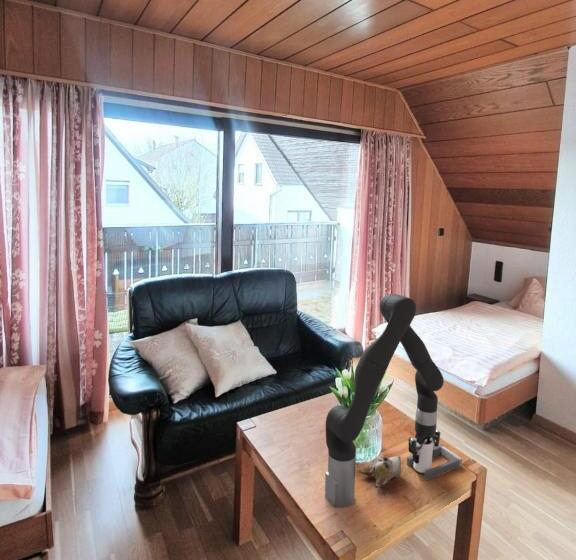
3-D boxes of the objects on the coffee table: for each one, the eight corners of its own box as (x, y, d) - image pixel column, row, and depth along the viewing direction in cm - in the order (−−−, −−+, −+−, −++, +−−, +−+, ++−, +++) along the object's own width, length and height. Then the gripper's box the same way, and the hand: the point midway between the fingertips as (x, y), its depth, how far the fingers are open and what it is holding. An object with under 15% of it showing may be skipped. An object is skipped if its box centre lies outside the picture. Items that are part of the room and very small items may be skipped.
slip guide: (426, 480, 158) (427, 473, 157) (406, 464, 167) (407, 457, 166) (461, 465, 166) (462, 458, 165) (440, 451, 175) (441, 444, 174)
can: (411, 470, 162) (413, 441, 160) (415, 461, 168) (417, 433, 165) (429, 475, 159) (431, 446, 157) (432, 466, 165) (434, 437, 162)
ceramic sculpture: (409, 459, 156) (376, 474, 149) (409, 480, 158) (376, 495, 151) (390, 444, 165) (358, 457, 159) (390, 464, 167) (358, 477, 161)
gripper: (418, 429, 153) (415, 471, 156) (448, 419, 159) (444, 459, 163) (404, 419, 159) (401, 459, 163) (432, 410, 166) (429, 449, 169)
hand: (422, 459), depth 163 cm, fingers closed on can, 6 cm apart
